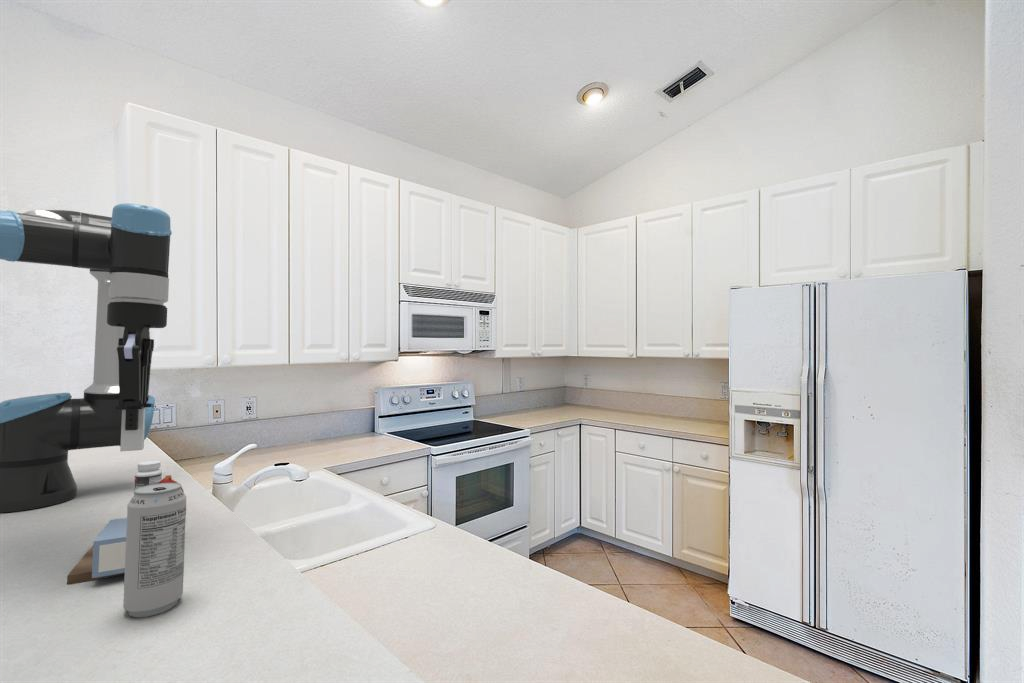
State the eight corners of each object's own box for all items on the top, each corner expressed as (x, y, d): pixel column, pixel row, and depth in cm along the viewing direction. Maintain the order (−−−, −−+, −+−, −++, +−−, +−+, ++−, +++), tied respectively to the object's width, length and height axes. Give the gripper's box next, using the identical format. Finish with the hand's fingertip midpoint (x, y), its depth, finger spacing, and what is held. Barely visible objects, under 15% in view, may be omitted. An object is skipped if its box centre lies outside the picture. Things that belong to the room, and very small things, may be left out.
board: (95, 548, 77) (95, 541, 77) (176, 536, 82) (177, 529, 82) (66, 584, 65) (67, 575, 65) (164, 567, 70) (165, 559, 70)
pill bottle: (128, 502, 102) (129, 463, 102) (150, 496, 106) (152, 459, 106) (143, 504, 100) (145, 465, 101) (165, 498, 105) (167, 461, 105)
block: (110, 519, 73) (93, 541, 64) (150, 514, 75) (139, 535, 67) (109, 552, 73) (91, 578, 64) (149, 546, 75) (137, 570, 66)
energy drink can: (174, 590, 63) (178, 479, 64) (189, 605, 59) (193, 487, 60) (117, 608, 59) (122, 488, 59) (129, 625, 55) (134, 497, 55)
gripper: (118, 304, 79) (112, 444, 78) (96, 296, 67) (89, 460, 67) (172, 307, 82) (167, 441, 82) (160, 300, 71) (154, 455, 70)
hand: (132, 449), depth 74 cm, fingers closed
